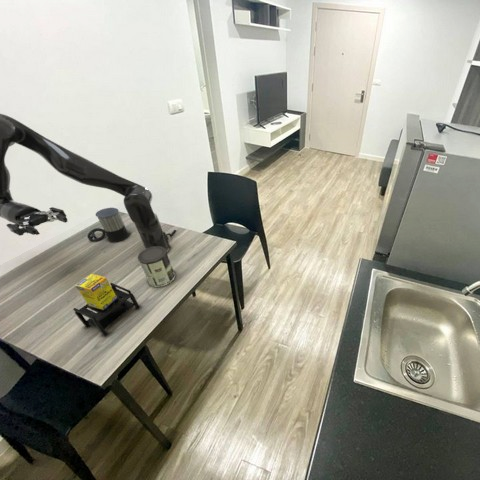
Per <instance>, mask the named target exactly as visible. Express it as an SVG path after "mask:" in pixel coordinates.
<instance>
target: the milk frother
mask: <svg viewBox="0 0 480 480" xmlns="http://www.w3.org/2000/svg"><path fill="white" fill-rule="evenodd" d="M95 217H96V218H97V219H98V221H99V223H100V225H101V227H102V228H100V227H96V228H93V229H91V230H90V231H89V232H88V234H87V236H86V237H87V239H88V240H89V241H91V242H97V241H101V240H104V238H105V237H107V241H109V242H113V243H114V242H121V241H124V240H125V239H127V238H129V236H130V232H129V231H128V229H127V228H126V225H125V223H124V221H123V219H122V217H121V214H120V211H119V209H118V208H117V207H106V208H105V207H104V208H102V209H100V210H97V211H96V212H95ZM96 232H101V233H102V235H101V236H99V237H97V235H96V234H95V233H96Z"/></svg>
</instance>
